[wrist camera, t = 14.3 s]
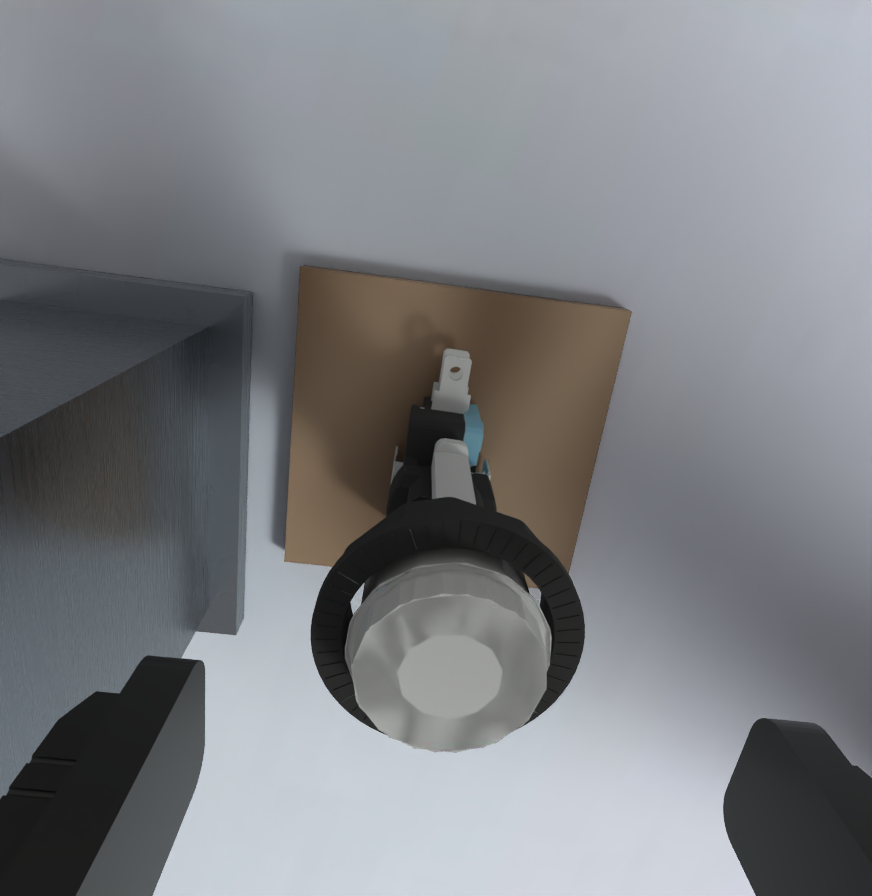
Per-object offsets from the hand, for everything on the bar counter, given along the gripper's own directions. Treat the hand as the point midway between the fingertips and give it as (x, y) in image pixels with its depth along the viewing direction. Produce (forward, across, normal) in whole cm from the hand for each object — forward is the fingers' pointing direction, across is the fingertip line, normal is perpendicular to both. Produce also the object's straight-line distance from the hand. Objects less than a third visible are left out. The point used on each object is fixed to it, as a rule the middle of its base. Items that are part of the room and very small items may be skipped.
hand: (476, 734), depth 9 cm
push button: (+12, 0, 0) cm, 12 cm away
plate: (+13, 0, 0) cm, 13 cm away
